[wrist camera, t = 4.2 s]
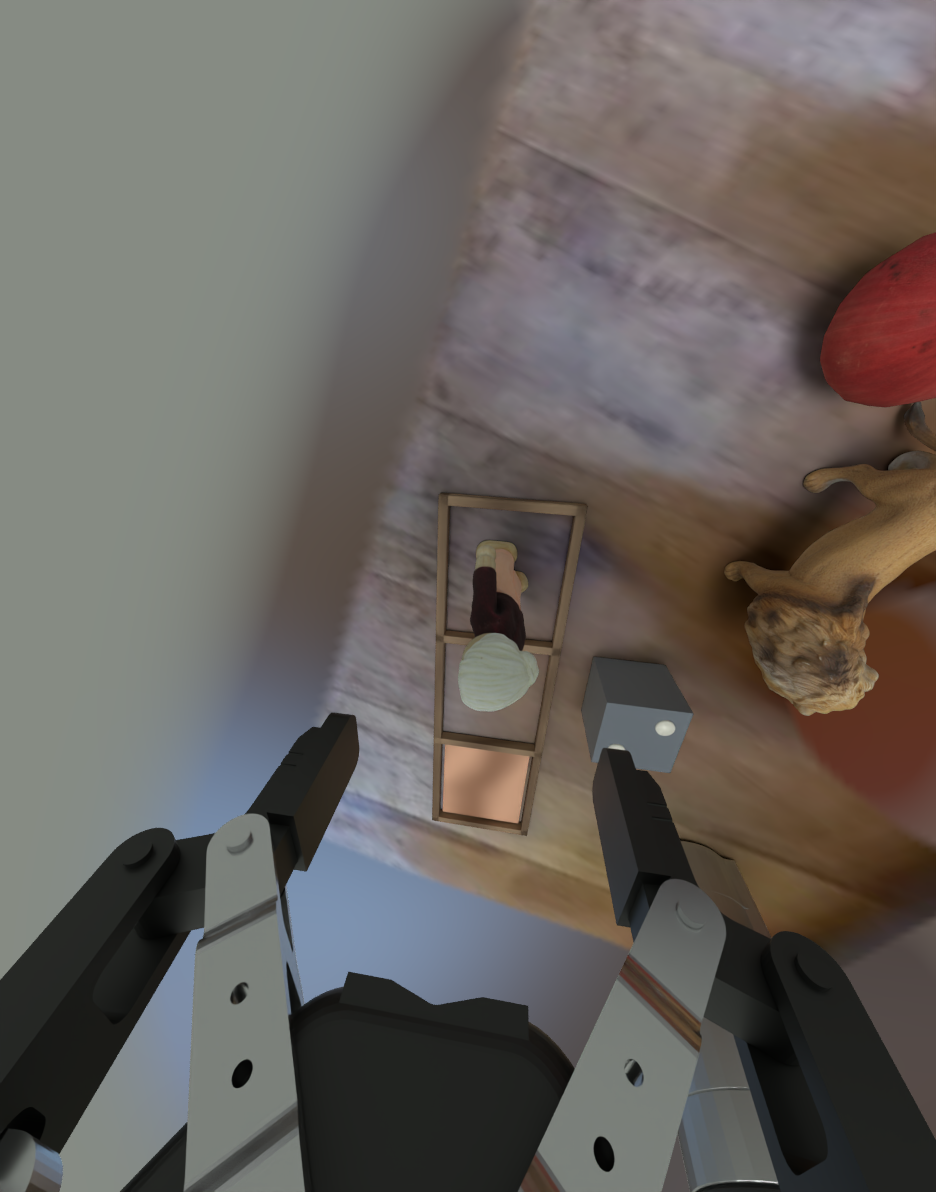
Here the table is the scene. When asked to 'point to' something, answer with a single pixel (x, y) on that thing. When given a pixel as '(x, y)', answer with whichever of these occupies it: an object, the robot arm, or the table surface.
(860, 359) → the red oval fruit
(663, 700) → the die
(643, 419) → the table surface
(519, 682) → the grandmother figurine
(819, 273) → the table surface
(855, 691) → the lion figurine
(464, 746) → the board
